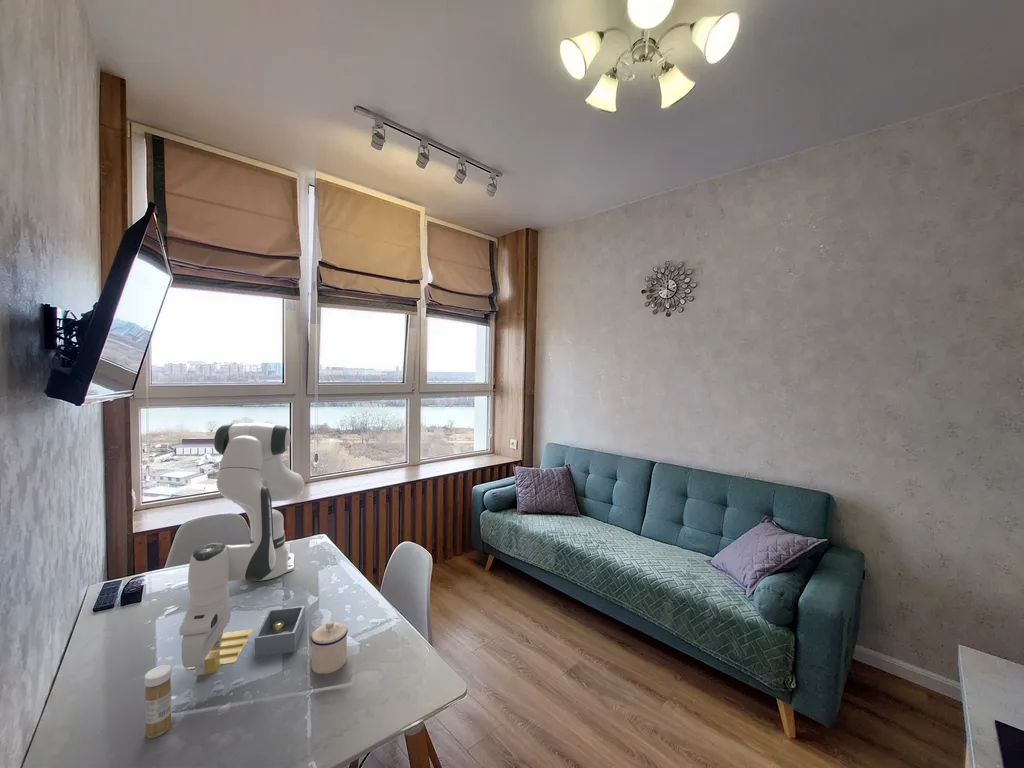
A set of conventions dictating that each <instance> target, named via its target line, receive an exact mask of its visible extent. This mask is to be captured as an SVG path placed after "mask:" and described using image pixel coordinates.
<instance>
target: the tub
mask: <svg viewBox="0 0 1024 768" xmlns="http://www.w3.org/2000/svg"><path fill="white" fill-rule="evenodd" d="M277 621H284V632H285V631H289V632H288V633H281V634H274V635H273V624H274V623H275V622H277ZM305 624H306V605H300V606H291V607H284V608H275V609H270V610H268V612H267V613H266V616H265V617H264V619H263V622H262V624H261V625H260V627H259V629H258V631H257V632H256V635H255V637H254V648H253V649H254V651H253V652H254V653H253V654H254V655H253V656H254V658H262V657H270V656H275V655H276V656H277V655H283V654H288V653H295V651H296V649H297V646H298V643H299V641H300V639H301V634H302V632H303V630H304V626H305Z"/></svg>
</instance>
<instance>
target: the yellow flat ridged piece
mask: <svg viewBox="0 0 1024 768" xmlns="http://www.w3.org/2000/svg"><path fill="white" fill-rule="evenodd" d="M253 631H254V628H250V629H249V628H248V629H243V630H241V629H240V630H236V631H235V630H234V631H226V632H223V635H222V639H221V646H220V648H219V649H218V650H212V649H211V650H210V652H209V653H208V655H207V656H206V658H205V660H204V663H206V670H205V672H204V673H203V674H200V675H197V674H196V676H197V677H198V676H203V675H204V676H205V675H209V674H215V673H216V672H217V671H218V668H219V667H220V666H222V665H229V664H235V663H236V662H237V660H238V658H239V656H240V654H241V653H242V650H243V649H244V648H245V645H246V643H247V641H248V640H249V638H250V636H251V634H252V632H253ZM189 670H196V668H195V667H189V668H186V671H189Z"/></svg>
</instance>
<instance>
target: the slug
mask: <svg viewBox="0 0 1024 768" xmlns="http://www.w3.org/2000/svg"><path fill="white" fill-rule="evenodd" d="M282 632H284V621H277V622H275V623H274V624H273V635H274V634H280V633H282Z"/></svg>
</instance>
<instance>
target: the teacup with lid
mask: <svg viewBox="0 0 1024 768" xmlns="http://www.w3.org/2000/svg"><path fill="white" fill-rule="evenodd" d="M347 634H348V627H347V626H346V624H345V623H342V622H338V621H332V620H329V621H328V620H327V622H326V623H323V624H322V625H320V626H318V627H317V628H316V629H314V631H313V632H311V633H310V634H309V644H310V647H311V669H312V671H313V672H314V673H316V674H320V675H326V674H330V673H334V672H336V671H338V670H340V669H341V668H343V666H344V665H345V663H346V662H347V643H348V639H347V637H348V636H347Z"/></svg>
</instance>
